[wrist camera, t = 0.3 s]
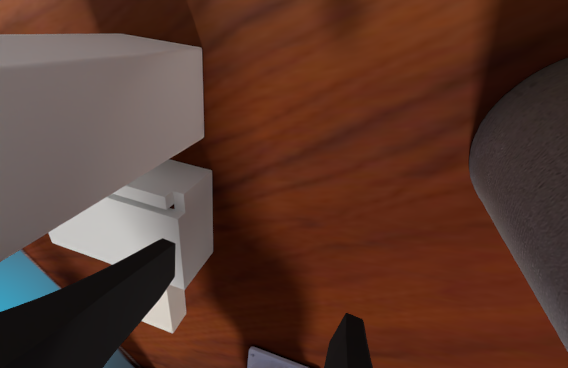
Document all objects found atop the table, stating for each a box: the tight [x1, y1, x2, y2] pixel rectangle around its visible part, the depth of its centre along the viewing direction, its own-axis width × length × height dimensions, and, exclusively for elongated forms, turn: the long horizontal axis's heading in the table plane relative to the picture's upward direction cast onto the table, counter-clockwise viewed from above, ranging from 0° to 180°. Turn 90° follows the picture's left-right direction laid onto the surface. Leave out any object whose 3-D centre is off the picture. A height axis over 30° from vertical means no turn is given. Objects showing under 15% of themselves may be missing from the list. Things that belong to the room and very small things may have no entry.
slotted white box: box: [48, 159, 213, 290], centre depth 23 cm, size 8×13×4 cm, turn 83°
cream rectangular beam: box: [112, 264, 186, 333], centre depth 29 cm, size 10×6×2 cm, turn 173°
